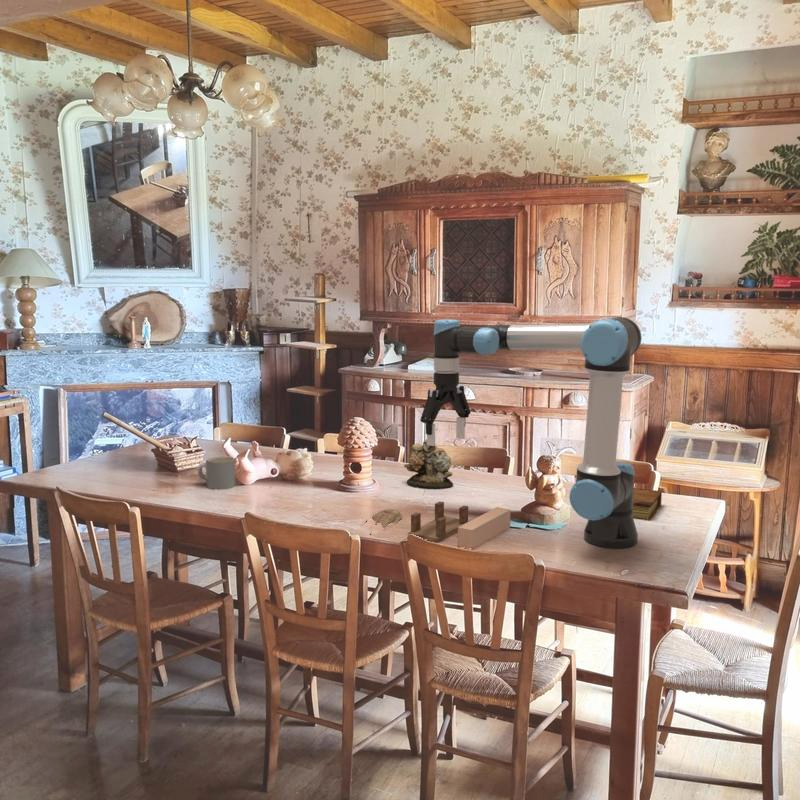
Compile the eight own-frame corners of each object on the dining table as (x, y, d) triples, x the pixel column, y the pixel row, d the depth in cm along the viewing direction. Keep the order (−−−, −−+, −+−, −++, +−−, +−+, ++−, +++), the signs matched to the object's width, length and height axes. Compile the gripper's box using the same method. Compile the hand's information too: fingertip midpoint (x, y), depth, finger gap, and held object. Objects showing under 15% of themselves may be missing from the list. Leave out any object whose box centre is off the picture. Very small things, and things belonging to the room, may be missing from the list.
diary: (661, 507, 277) (662, 490, 276) (649, 522, 261) (650, 504, 260) (592, 498, 288) (592, 481, 287) (577, 512, 271) (577, 495, 270)
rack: (470, 524, 257) (470, 505, 256) (437, 542, 240) (437, 521, 239) (442, 519, 262) (442, 500, 261) (408, 536, 245) (408, 516, 244)
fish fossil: (386, 537, 246) (386, 534, 246) (353, 538, 248) (353, 534, 248) (403, 511, 271) (403, 507, 270) (373, 511, 273) (373, 508, 273)
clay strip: (510, 528, 254) (510, 509, 253) (471, 550, 234) (471, 530, 233) (496, 526, 256) (497, 507, 255) (457, 547, 237) (457, 527, 236)
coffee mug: (240, 483, 305) (239, 457, 303) (225, 490, 296) (224, 463, 294) (209, 480, 310) (208, 454, 308) (193, 487, 300) (192, 460, 299)
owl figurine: (400, 487, 300) (400, 441, 298) (408, 479, 311) (408, 434, 309) (449, 490, 296) (450, 443, 293) (456, 482, 307) (456, 436, 304)
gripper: (463, 367, 260) (462, 434, 263) (408, 374, 242) (408, 446, 246) (482, 369, 255) (481, 437, 258) (427, 376, 237) (427, 450, 240)
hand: (445, 441), depth 252 cm, fingers open, 13 cm apart
